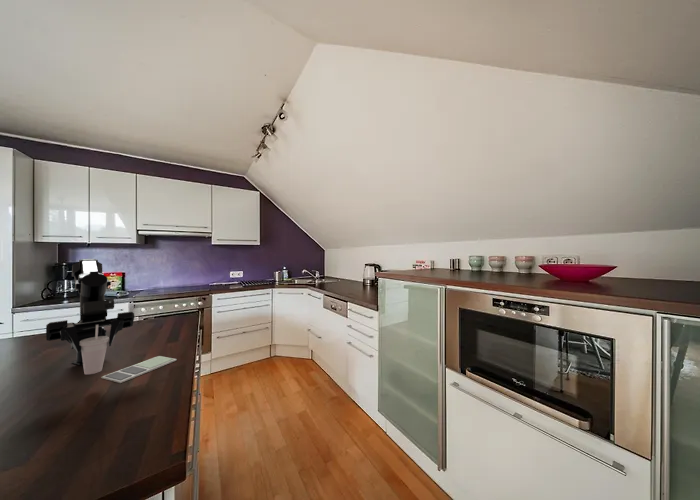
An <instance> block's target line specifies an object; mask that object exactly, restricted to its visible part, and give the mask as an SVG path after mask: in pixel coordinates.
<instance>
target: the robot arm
mask: <svg viewBox="0 0 700 500" xmlns="http://www.w3.org/2000/svg"><path fill="white" fill-rule="evenodd" d="M71 267H72V268H71V277H74V284H75V286H74V289H75V292H76V291H77V292H78V294H79V320H78V321H77V322H68V319H65V320H59V321H50V322H48V323H47V324H46V326H45V337H46V341H49V342H51V341H56V340H61V341H63V342H64V341H66V342H67V343H69V344H70V346H71V347H70V348H71V350H73V349H74V350H75V351H76V355H75V356H76V359H75V360H72V361H70V362H71V363H72V364H75V365H78V366H83V360H82V352H81V346H80V345H79V342H80V341H81V340H84V339H87V338H92V337H95V331H96V325H98V336H107V329H105V327H108V326H110V329H109V341H108V347H111V346H112V344H113V341H114V339H115V337H116V335H117V334H118V332H120V331H123V330H124V329H125V328H127V329H128V328H131V327H133V325H134V320H135V313H134V312H133V311H126V312H125V311H124V312H118V313H117V315H116V317H114V318H108V310H113V309H114V308H115V298H113V297H112V298H105V295H106V292H107V289H108V288H109V286H111V285H112V282H111V281H110V280H109V279H108V277H107V276H106V275H105V274H104V273H103V263H101V262H99V260H98V258H97V259H96V258H82V259H81V258H80V259H79V261H77V262H76V263H73V264H72V266H71Z"/></svg>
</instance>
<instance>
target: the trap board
mask: <svg viewBox="0 0 700 500" xmlns="http://www.w3.org/2000/svg"><path fill="white" fill-rule="evenodd" d="M176 361H177V358H172V357H167V356H162V355H158V356H154V357H151V358H149V359H146V360H144V361H142V362H138V363H136V364H132V365H131V366H127V367H124V368H122V369H119V370H116V371H113V372H111V373H108V374H105V375H103V376H101V377H100V378H101V379H102V380H106V381H110V382H115V383H118V384H123V383H124V382H127V381H129V380H132V379H134V378H137V377H140V376H141V375H145V374H147V373H149V372H152V371H154V370H156V369H159V368H162V367H164V366H167V365H169V364H172V363H174V362H176Z"/></svg>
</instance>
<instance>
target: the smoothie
mask: <svg viewBox="0 0 700 500" xmlns="http://www.w3.org/2000/svg"><path fill="white" fill-rule="evenodd" d="M109 337H110V335H109V336H108V335H106V336H98V325H96V331H95V337H92V338H87V339H84V340H81V341H80V342H79V345H80V346H81V352H82V360H83V365H82V366H83V372H84V373H83V374H84V375H94V374H96V373H97V374H98V373H99V372H101V371H103V366H104V362H105V357H106V352H107V347H108V345H109Z"/></svg>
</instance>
